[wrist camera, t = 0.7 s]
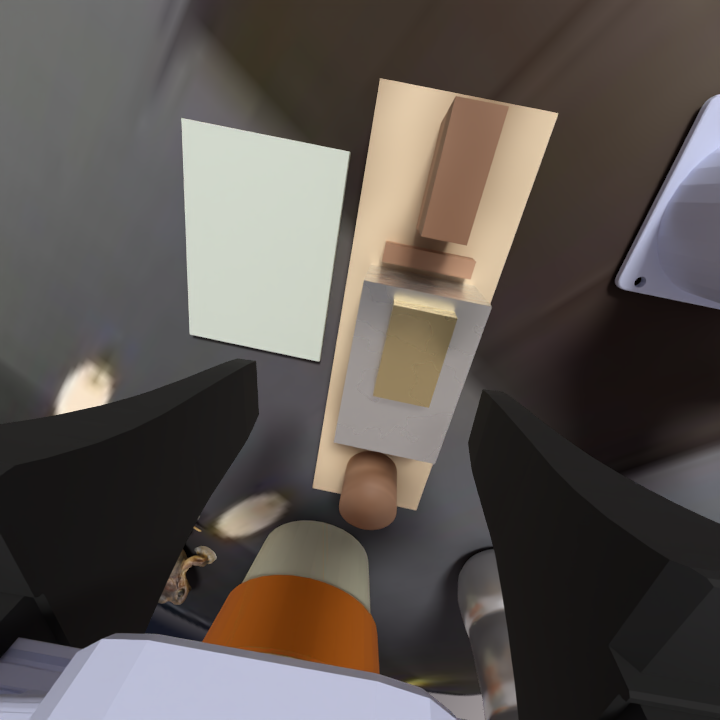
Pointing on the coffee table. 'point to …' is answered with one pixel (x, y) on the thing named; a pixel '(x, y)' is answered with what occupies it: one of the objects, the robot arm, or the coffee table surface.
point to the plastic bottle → (488, 634)
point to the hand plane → (426, 245)
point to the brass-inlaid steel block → (408, 362)
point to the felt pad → (260, 237)
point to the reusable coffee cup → (304, 600)
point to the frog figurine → (177, 581)
